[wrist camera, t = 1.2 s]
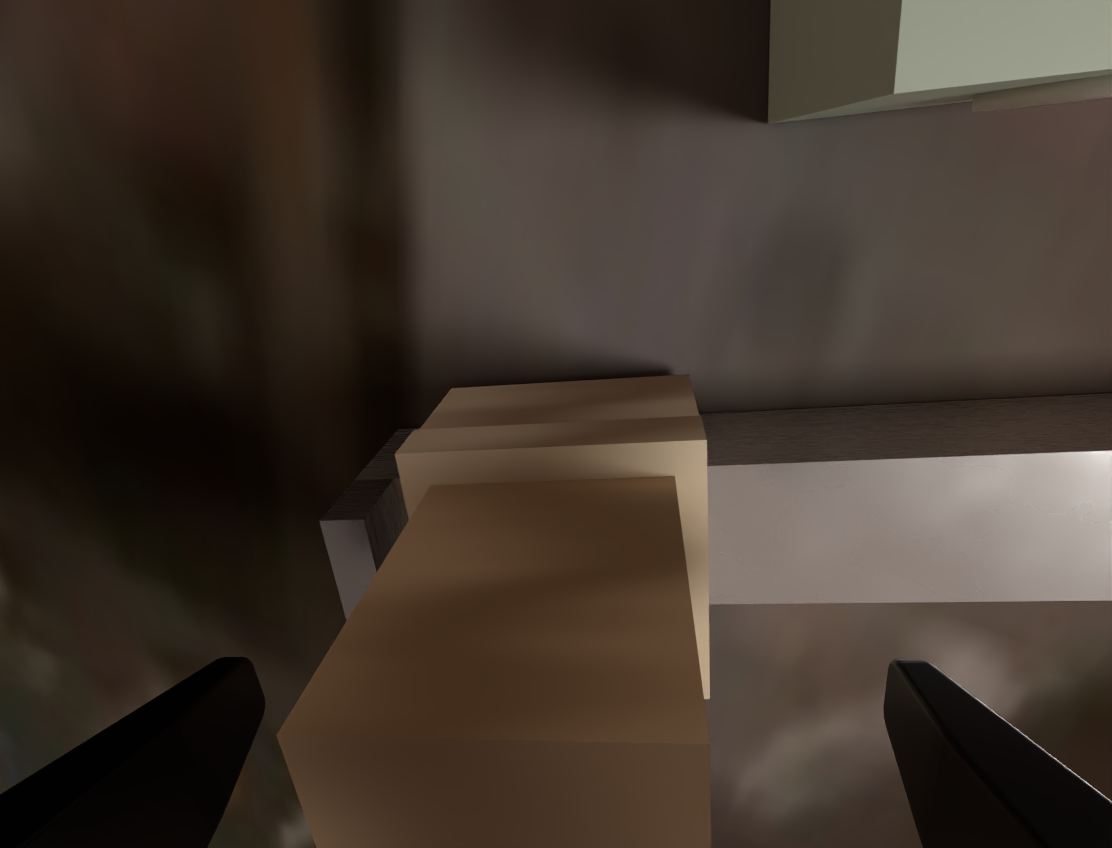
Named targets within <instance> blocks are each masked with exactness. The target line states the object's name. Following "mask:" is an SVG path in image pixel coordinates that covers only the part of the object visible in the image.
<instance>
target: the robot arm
mask: <svg viewBox="0 0 1112 848" xmlns="http://www.w3.org/2000/svg"><path fill="white" fill-rule="evenodd" d="M264 710H265V698H264V694H263V691H262V689H261V686H260V683H259V680H258V677H257V674H256V672H255V669H254V666H253V664H252V662H251V661H250V660H249V659H248V658H245V657H223V658H219V659H217V660H215V661H214V662H212V663H210V664H209V665H207V666H206V667H204V668H202V669H201V670H199V671H198V672H196V673H194V674H193V675H191V676H189V677H188V678H186V679H185V680H183V681H181V682H180V683H178V684H177V685H175V686H173V687H172V688H170V689H169V690H167V691H165V692H164V693H162V694H161V695H159V696H157V697H156V698H154V699H153V700H151V701H149V702H148V703H146V704H145V705H143V706H141V707H140V708H138V709H137V710H135V711H133V712H132V713H130V714H129V715H127V716H125V717H124V718H122V719H120V720H119V721H117V722H116V723H114V724H112V725H111V726H109V727H108V728H106V729H104V730H103V731H101V732H100V733H98V734H96V735H95V736H93V737H92V738H90V739H88V740H87V741H85V742H84V743H82V744H80V745H79V746H77V747H76V748H74V749H72V750H71V751H69V752H68V753H66V754H64V755H63V756H61V757H60V758H58V759H56V760H55V761H53V762H51V763H50V764H48V765H47V766H45V767H43V768H42V769H40V770H39V771H37V772H35V773H34V774H32V775H31V776H29V777H27V778H26V779H24V780H23V781H21V782H19V783H18V784H16V785H15V786H13V787H11V788H10V789H8V790H7V791H5V792H3V793H2V794H0V848H207V847H208V845H209V843H210V841H211V839H212V837H213V835H214V833H215V831H216V829H217V827H218V825H219V823H220V821H221V818H222V816H223V814H224V811H225V809H226V807H227V805H228V802H229V800H230V797H231V795H232V792H233V790H234V787H235V785H236V782H237V780H238V777H239V775H240V772H241V770H242V768H243V765H244V763H245V760H246V758H247V755H248V753H249V750H250V748H251V745H252V743H253V740H254V738H255V735H256V733H257V730H258V728H259V725H260V723H261V720H262V718H263V715H264ZM884 719H885V724H886V728H887V731H888V735H889V738H890V741H891V745H892V748H893V751H894V755H895V758H896V761H897V765H898V768H899V771H900V774H901V778H902V781H903V784H904V788H905V791H906V794H907V798H908V801H909V804H910V808H911V811H912V814H913V818H914V821H915V824H916V828H917V831H918V834H919V837H920V840H921V843H922V846H923V848H1112V801H1111V800H1109V799H1108V798H1107V797H1105V796H1104V795H1103V794H1101V793H1100V792H1099V791H1097V790H1096V789H1095V788H1094V787H1092V786H1091V785H1090V784H1088V783H1087V782H1086V781H1084V780H1083V779H1082V778H1080V777H1079V776H1078V775H1077V774H1075V773H1074V772H1073V771H1071V770H1070V769H1069V768H1067V767H1066V766H1065V765H1063V764H1062V763H1061V762H1060V761H1058V760H1057V759H1056V758H1054V757H1053V756H1052V755H1050V754H1049V753H1048V752H1046V751H1045V750H1044V749H1043V748H1041V747H1040V746H1039V745H1037V744H1036V743H1035V742H1033V741H1032V740H1031V739H1029V738H1028V737H1027V736H1025V735H1024V734H1023V733H1022V732H1020V731H1019V730H1018V729H1016V728H1015V727H1014V726H1012V725H1011V724H1010V723H1008V722H1007V721H1006V720H1005V719H1003V718H1002V717H1001V716H999V715H998V714H997V713H995V712H994V711H993V710H991V709H990V708H989V707H988V706H986V705H985V704H984V703H982V702H981V701H980V700H978V699H977V698H976V697H974V696H973V695H972V694H971V693H969V692H968V691H967V690H965V689H964V688H963V687H961V686H960V685H959V684H957V683H956V682H955V681H954V680H952V679H951V678H950V677H948V676H947V675H946V674H944V673H943V672H942V671H940V670H939V669H938V668H936V667H935V666H934V665H933V664H931V663H930V662H928V661H926V660H922V659H895V660H893V661H891V663H890V665H889V668H888V674H887V682H886V691H885V699H884Z"/></svg>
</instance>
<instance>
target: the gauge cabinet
mask: <svg viewBox="0 0 1112 848" xmlns="http://www.w3.org/2000/svg"><path fill="white" fill-rule="evenodd" d="M1107 98H1112V0H771V8H770V52H769V95H768V124H771V123H780V122H789V121H798V120H807V119H816V118H825V117H834V116H843V115H852V114H861V113H870V112H879V111H888V110H897V109H906V108H915V107H924V106H933V105H942V104H951V103H960V102H969V101H973V102H972V109H971V113H973V112H984V111H995V110H1004V109H1014V108H1024V107H1033V106H1043V105H1052V104H1061V103H1070V102H1079V101H1089V100H1098V99H1107Z"/></svg>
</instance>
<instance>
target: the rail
mask: <svg viewBox="0 0 1112 848" xmlns="http://www.w3.org/2000/svg"><path fill="white" fill-rule="evenodd" d="M699 416H701V419H702V423H703V427H704V430H705V434H706V438H707V489H708V578H709V604H783V603H887V602H991V601H1096V600H1112V393H1105V394H1085V395H1065V396H1045V397H1025V398H1006V399H986V400H966V401H946V402H926V403H906V404H886V405H867V406H847V407H827V408H807V409H787V410H767V411H747V412H727V413H708V414H699ZM419 429H420V428H410V429H398V430H397V431H396V432H395V433H394V435H393V436H392V437H391V438H390V439H389V440H388V442H387V443H386V444H385V445H384V446H383V447H382V449H381V450H380V451H379V452H378V453H377V454H376V456H375V457H374V458H373V459H372V460H371V461H370V462H369V464H368V465H367V466H366V467H365V468H364V469H363V471H362V472H361V473H360V474H359V475H358V476H357V478H356V479H355V480H354V481H353V482H352V483H351V485H350V486H349V487H348V488H347V489H346V490H345V492H344V493H343V494H342V495H341V496H340V497H339V499H338V500H337V501H336V502H335V503H334V504H333V506H332V507H331V508H330V509H329V510H328V511H327V513H326V514H325V515H324V516H323V517H322V518H321V520H320V521H319V522H320V525H321V529H322V533H323V536H324V540H325V544H326V547H327V551H328V555H329V558H330V562H331V566H332V569H333V573H334V576H335V580H336V584H337V587H338V591H339V595H340V598H341V602H342V606H343V609H344V613H345V617H346V620H348V618H349V617H350V615H351V614H352V612H353V610H354V609H355V607H356V605H357V604H358V602H359V601H360V599H361V597H362V596H363V594H364V592H365V591H366V589H367V588H368V586H369V584H370V583H371V581H372V579H373V578H374V576H375V575H376V573H377V571H378V570H379V568H380V566H381V565H382V563H383V561H384V560H385V558H386V557H387V555H388V553H389V552H390V550H391V548H392V547H393V545H394V544H395V542H396V540H397V539H398V537H399V535H400V534H401V532H402V531H403V529H404V527H405V526H406V524H407V522H408V521H409V518H408V514H407V509H406V504H405V500H404V495H403V490H402V486H401V481H400V476H399V472H398V467H397V462H396V458H395V453H396V452H397V450H398V449H399V448H400V447H401V445H402V444H403V443H404V442H405V440H406V439H407V438H408V437H409V435H410V434H411V433H412V432H413V430H419Z"/></svg>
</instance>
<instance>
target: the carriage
mask: <svg viewBox="0 0 1112 848" xmlns="http://www.w3.org/2000/svg"><path fill="white" fill-rule="evenodd" d="M395 458H396V462H397V467H398V472H399V476H400V481H401V486H402V490H403V495H404V500H405V504H406V509H407V514H408V518H409V521H408V522H407V524H406V526H405V527H404V529H403V531H402V532H401V534H400V535H399V537H398V539H397V540H396V542H395V544H394V545H393V547H392V548H391V550H390V552H389V553H388V555H387V557H386V558H385V560H384V561H383V563H382V565H381V566H380V568H379V570H378V571H377V573H376V575H375V576H374V578H373V579H372V581H371V583H370V584H369V586H368V588H367V589H366V591H365V592H364V594H363V596H362V597H361V599H360V601H359V602H358V604H357V605H356V607H355V609H354V610H353V612H352V614H351V615H350V617H349V618H348V620H347V622H346V623H345V625H344V627H343V628H342V630H341V631H340V633H339V635H338V636H337V638H336V640H335V641H334V643H333V644H332V646H331V648H330V649H329V651H328V653H327V654H326V656H325V657H324V659H323V661H322V662H321V664H320V666H319V667H318V669H317V670H316V672H315V674H314V675H313V677H312V679H311V680H310V682H309V683H308V685H307V687H306V688H305V690H304V692H303V693H302V695H301V696H300V698H299V700H298V701H297V703H296V705H295V706H294V708H293V709H292V711H291V713H290V714H289V716H288V718H287V719H286V721H285V722H284V724H283V726H282V727H281V729H280V731H279V732H278V734H277V738H278V741H279V744H280V747H281V749H282V752H283V755H284V758H285V761H286V763H287V766H288V769H289V772H290V775H291V777H292V780H293V783H294V786H295V789H296V792H297V794H298V797H299V800H300V803H301V806H302V808H303V811H304V814H305V817H306V820H307V823H308V825H309V828H310V831H311V834H312V837H313V839H314V842H315V845H316V848H711V788H710V740H709V733H708V725H707V717H706V710H705V702H704V699H710V668H709V578H708V489H707V438H706V434H705V430H704V427H703V423H702V419H701V416H699V413H698V409H697V405H696V401H695V397H694V393H693V389H692V385H691V381H690V377H689V374H686V375H669V376H652V377H635V378H618V379H601V380H584V381H567V382H550V383H533V384H516V385H500V386H483V387H466V388H451V389H450V391H449V392H448V393H447V395H446V396H445V397H444V398H443V400H442V401H441V402H440V404H439V405H438V406H437V407H436V409H435V410H434V411H433V412H432V414H431V415H430V416H429V418H428V419H427V420H426V421H425V423H424V424H423V425H422V427H421V428H420V429H419V430H413V432H412V433H411V434H410V435H409V437H408V438H407V439H406V440H405V442H404V443H403V444H402V445H401V447H400V448H399V449H398V450H397V452H396V453H395Z"/></svg>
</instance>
